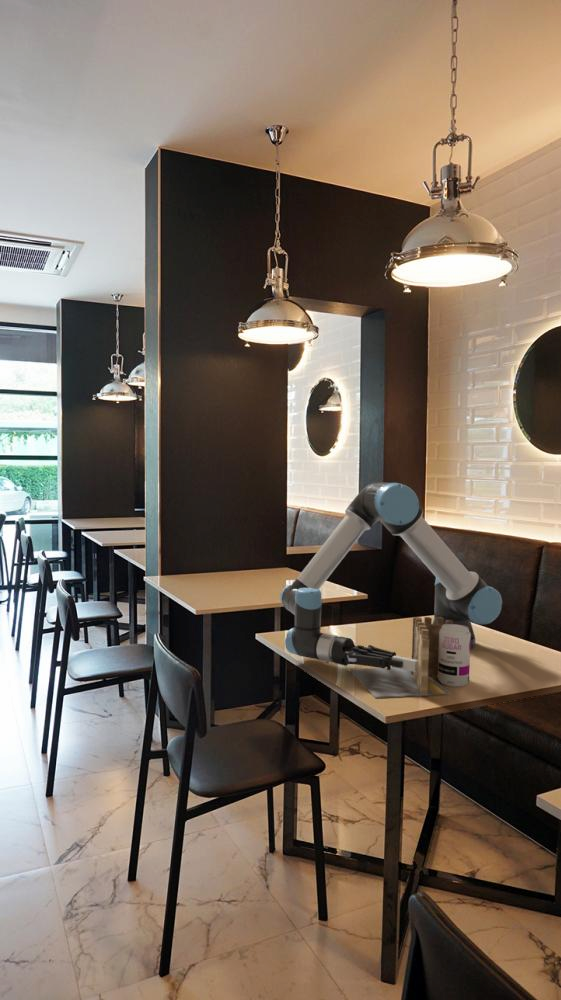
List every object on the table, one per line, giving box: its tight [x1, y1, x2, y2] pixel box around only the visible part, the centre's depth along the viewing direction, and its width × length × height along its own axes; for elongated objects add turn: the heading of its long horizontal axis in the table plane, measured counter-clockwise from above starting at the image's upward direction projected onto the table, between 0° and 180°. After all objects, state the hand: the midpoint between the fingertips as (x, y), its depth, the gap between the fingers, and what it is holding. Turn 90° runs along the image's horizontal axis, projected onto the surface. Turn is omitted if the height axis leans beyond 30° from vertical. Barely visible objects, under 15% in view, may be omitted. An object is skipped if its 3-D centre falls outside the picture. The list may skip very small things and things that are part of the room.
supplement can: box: [437, 624, 471, 688], centre depth 179 cm, size 8×8×15 cm
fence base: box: [349, 616, 453, 699], centre depth 179 cm, size 28×22×16 cm
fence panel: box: [413, 617, 429, 695], centre depth 175 cm, size 16×2×16 cm, turn 176°
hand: (416, 665), depth 172 cm, fingers closed
